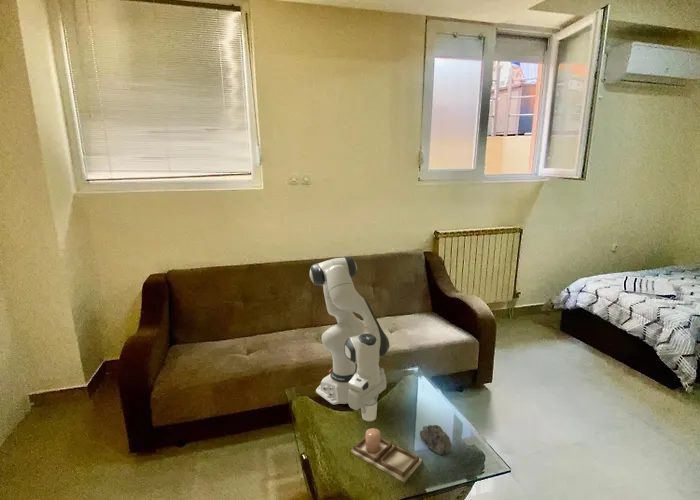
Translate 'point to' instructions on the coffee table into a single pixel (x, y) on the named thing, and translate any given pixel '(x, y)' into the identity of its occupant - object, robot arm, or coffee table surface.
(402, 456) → the divided wooden tray
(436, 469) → the coffee table surface
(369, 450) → the tan rounded cylinder
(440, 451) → the mineral rock
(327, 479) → the coffee table surface
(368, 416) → the white cylinder
